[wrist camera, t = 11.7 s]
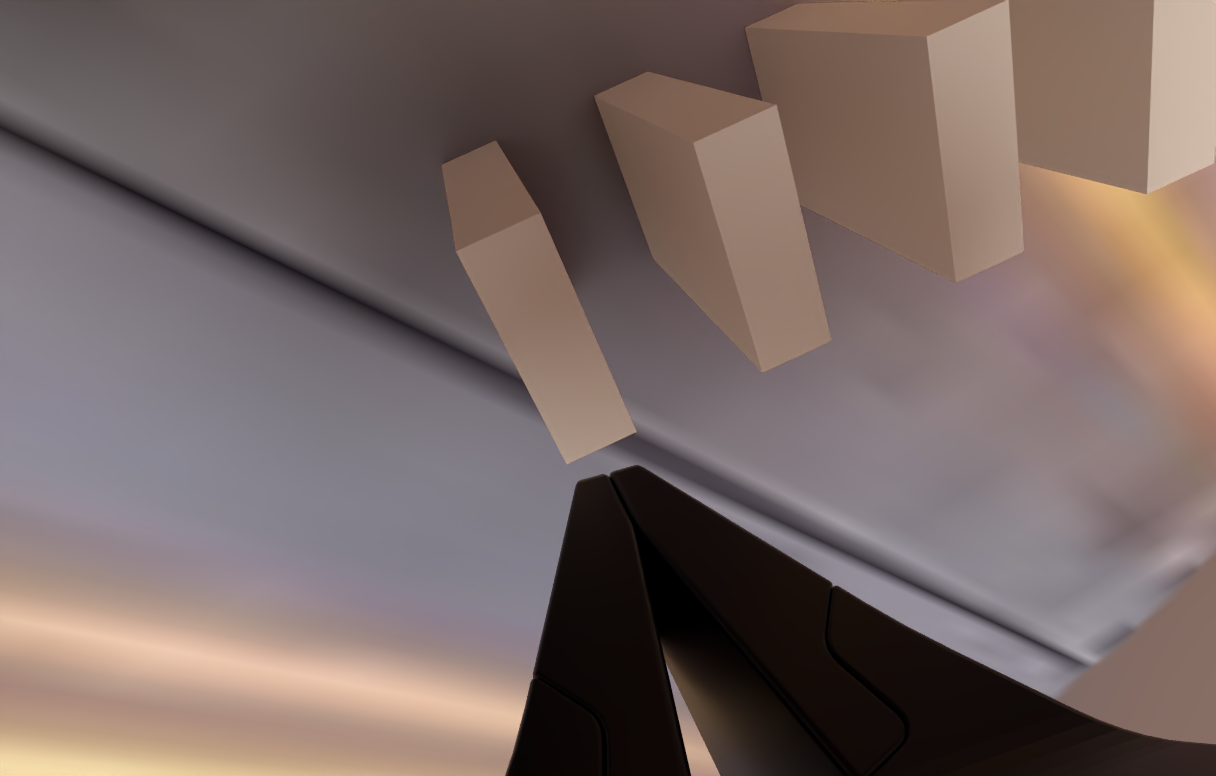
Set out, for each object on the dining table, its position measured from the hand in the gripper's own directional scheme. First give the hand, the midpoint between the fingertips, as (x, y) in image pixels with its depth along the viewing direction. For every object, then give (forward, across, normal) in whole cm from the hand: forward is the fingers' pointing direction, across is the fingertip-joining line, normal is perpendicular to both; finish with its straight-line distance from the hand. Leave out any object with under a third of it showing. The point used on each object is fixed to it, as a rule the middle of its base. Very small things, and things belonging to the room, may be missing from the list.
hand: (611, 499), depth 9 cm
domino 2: (+13, -4, -1) cm, 14 cm away
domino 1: (+13, 0, 0) cm, 13 cm away
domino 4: (+13, -13, -3) cm, 19 cm away
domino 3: (+13, -9, -2) cm, 16 cm away
